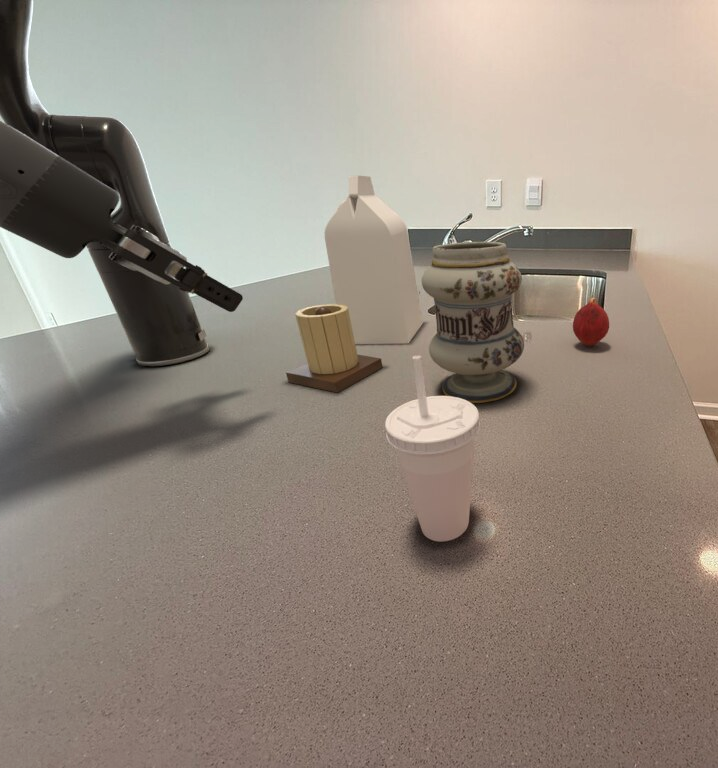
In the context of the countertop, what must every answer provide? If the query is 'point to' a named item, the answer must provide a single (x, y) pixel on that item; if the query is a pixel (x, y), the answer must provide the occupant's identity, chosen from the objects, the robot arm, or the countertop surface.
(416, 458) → the smoothie
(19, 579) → the countertop surface
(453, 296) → the apothecary jar
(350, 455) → the countertop surface
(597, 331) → the onion
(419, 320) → the milk
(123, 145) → the robot arm
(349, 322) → the wooden slatted cup
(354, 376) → the stand
